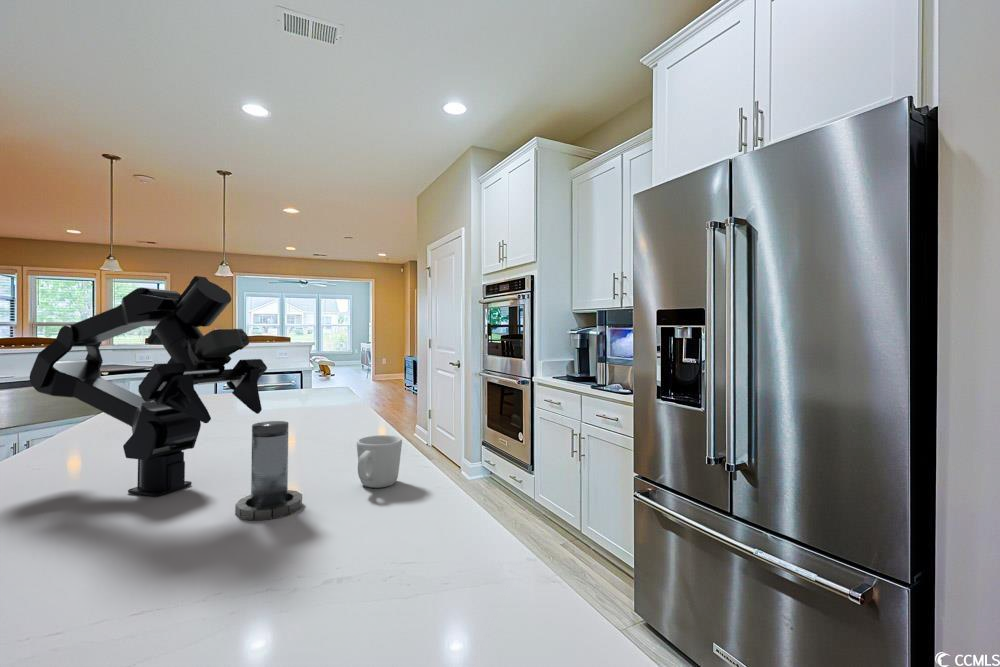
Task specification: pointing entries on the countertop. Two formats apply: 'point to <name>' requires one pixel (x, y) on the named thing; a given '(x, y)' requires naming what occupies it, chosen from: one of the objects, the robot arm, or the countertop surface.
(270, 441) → the dark grey metallic cylinder
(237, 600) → the countertop surface
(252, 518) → the ring
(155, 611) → the countertop surface
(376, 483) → the cup
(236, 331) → the robot arm
